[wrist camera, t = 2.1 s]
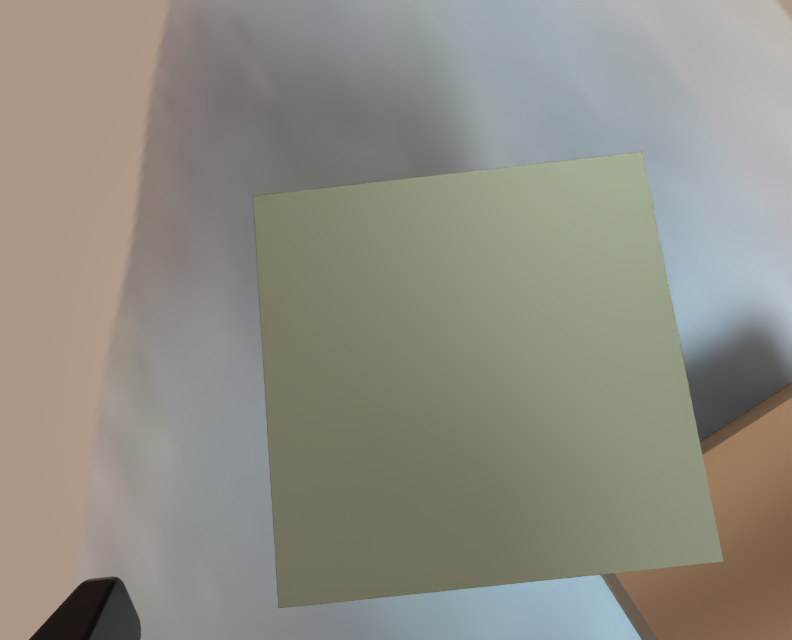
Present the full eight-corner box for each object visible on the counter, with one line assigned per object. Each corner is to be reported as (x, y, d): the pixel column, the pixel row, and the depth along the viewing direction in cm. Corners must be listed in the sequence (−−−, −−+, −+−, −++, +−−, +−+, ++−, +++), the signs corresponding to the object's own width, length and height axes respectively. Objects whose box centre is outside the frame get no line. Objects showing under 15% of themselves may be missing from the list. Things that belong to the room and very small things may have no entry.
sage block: (556, 525, 19) (723, 561, 8) (362, 545, 19) (278, 608, 8) (527, 335, 20) (641, 151, 9) (345, 355, 20) (252, 196, 9)
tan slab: (961, 624, 18) (1042, 644, 16) (731, 784, 18) (779, 829, 15) (783, 385, 20) (832, 370, 17) (566, 525, 19) (586, 529, 17)
